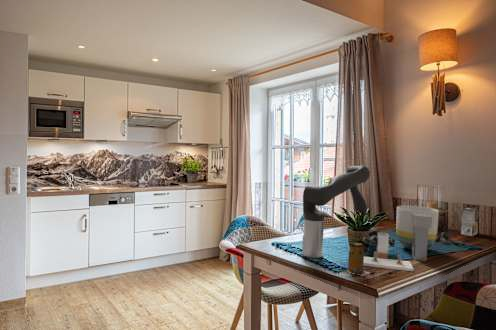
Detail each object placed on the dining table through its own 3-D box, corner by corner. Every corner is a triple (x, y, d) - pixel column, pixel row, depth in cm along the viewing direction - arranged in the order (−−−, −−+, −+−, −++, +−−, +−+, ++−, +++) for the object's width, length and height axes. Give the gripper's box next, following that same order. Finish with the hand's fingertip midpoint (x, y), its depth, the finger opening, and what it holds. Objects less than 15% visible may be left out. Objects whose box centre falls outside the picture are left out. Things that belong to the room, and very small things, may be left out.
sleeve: (377, 257, 165) (378, 234, 164) (376, 254, 169) (377, 232, 169) (387, 258, 163) (388, 235, 163) (386, 255, 168) (387, 233, 167)
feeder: (412, 260, 162) (415, 215, 161) (409, 254, 171) (411, 212, 170) (429, 262, 160) (431, 217, 159) (425, 256, 169) (427, 213, 168)
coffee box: (466, 232, 224) (467, 207, 223) (477, 234, 219) (479, 209, 218) (460, 234, 218) (462, 208, 217) (472, 236, 213) (473, 210, 212)
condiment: (351, 268, 149) (353, 240, 149) (370, 273, 143) (372, 244, 143) (343, 272, 144) (345, 243, 143) (363, 277, 138) (364, 248, 137)
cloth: (415, 239, 203) (416, 229, 203) (439, 237, 210) (439, 227, 210) (450, 250, 183) (451, 238, 182) (474, 247, 189) (475, 236, 189)
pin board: (363, 265, 152) (364, 254, 152) (362, 258, 162) (363, 247, 162) (413, 271, 147) (414, 259, 147) (409, 264, 157) (409, 252, 156)
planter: (432, 257, 167) (435, 213, 166) (390, 249, 179) (392, 208, 178) (439, 249, 182) (441, 208, 181) (400, 242, 194) (402, 204, 193)
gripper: (358, 228, 180) (369, 235, 164) (386, 228, 180) (399, 237, 164) (358, 242, 181) (368, 251, 164) (385, 243, 180) (398, 252, 164)
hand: (383, 244), depth 164 cm, fingers open, 8 cm apart
